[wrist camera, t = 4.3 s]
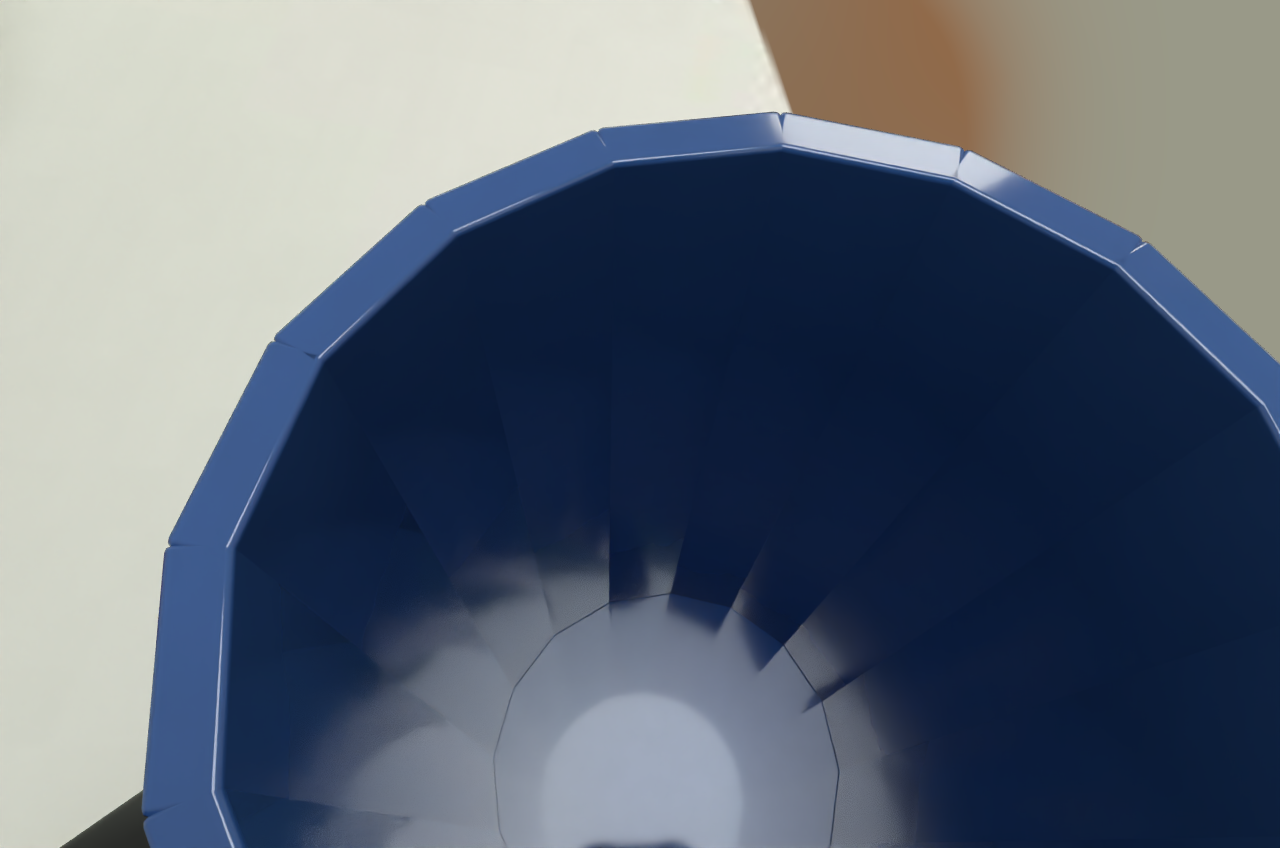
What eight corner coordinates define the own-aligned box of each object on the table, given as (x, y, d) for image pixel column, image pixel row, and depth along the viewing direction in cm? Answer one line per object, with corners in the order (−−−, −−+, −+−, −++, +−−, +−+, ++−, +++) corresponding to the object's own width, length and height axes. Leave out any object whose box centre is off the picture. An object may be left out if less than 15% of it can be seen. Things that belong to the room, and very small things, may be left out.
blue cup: (895, 944, 15) (1821, 1254, 4) (495, 1024, 15) (49, 1739, 3) (798, 562, 18) (1128, 76, 7) (465, 612, 18) (195, 162, 6)
